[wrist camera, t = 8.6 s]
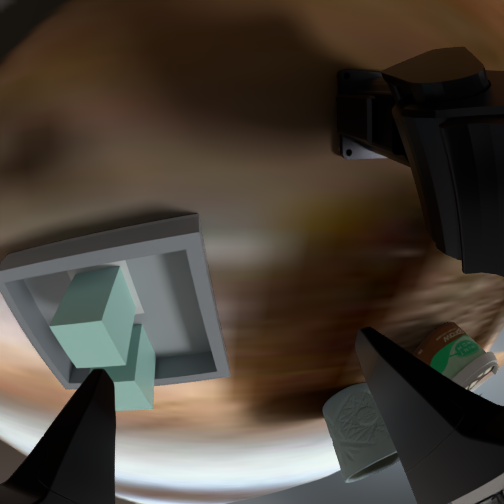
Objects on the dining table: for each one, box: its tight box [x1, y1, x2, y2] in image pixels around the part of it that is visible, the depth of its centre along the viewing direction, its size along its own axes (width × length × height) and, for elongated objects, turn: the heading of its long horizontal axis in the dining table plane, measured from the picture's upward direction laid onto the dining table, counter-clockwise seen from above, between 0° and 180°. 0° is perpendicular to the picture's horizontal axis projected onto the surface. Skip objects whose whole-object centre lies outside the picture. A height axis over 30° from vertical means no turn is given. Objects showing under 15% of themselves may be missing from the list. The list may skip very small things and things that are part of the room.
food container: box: [413, 322, 499, 390], centre depth 30 cm, size 12×6×10 cm, turn 105°
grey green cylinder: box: [323, 383, 400, 483], centre depth 32 cm, size 10×10×12 cm
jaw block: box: [49, 266, 136, 368], centre depth 18 cm, size 4×4×6 cm
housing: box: [0, 214, 230, 411], centre depth 20 cm, size 17×14×6 cm
